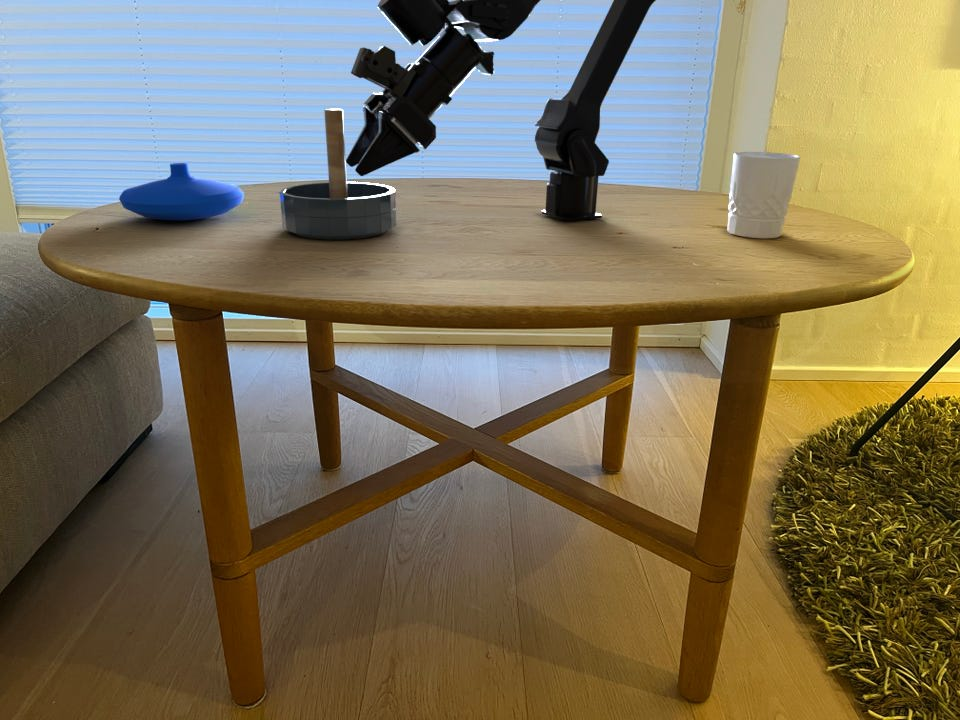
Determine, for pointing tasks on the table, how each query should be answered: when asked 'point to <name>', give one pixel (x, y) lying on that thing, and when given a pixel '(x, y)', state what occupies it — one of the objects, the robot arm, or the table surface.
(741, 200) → the white cup
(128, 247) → the table surface
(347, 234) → the bowl
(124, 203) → the vase
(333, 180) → the stirring stick
